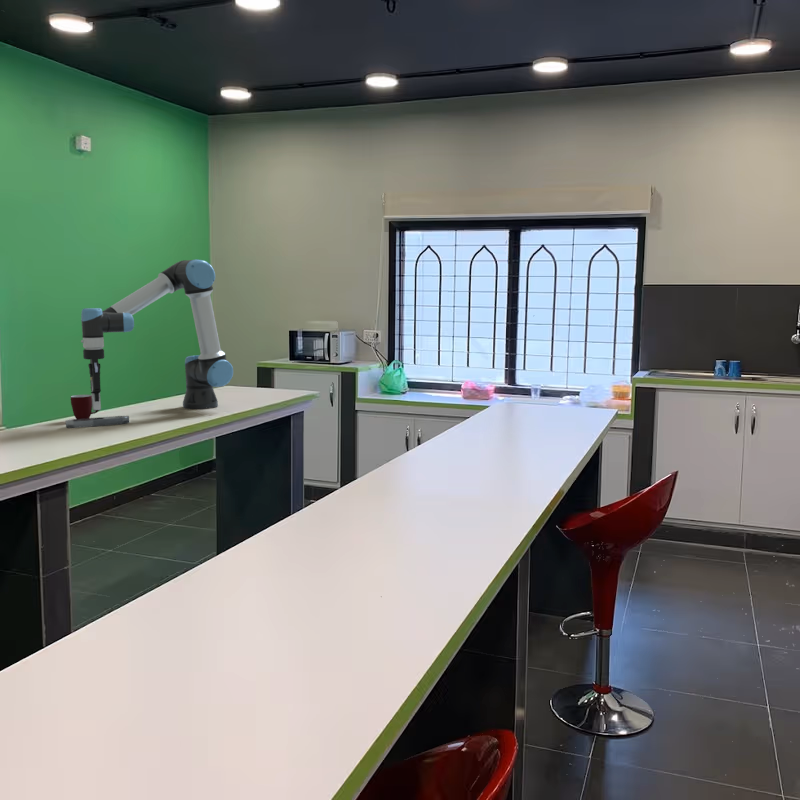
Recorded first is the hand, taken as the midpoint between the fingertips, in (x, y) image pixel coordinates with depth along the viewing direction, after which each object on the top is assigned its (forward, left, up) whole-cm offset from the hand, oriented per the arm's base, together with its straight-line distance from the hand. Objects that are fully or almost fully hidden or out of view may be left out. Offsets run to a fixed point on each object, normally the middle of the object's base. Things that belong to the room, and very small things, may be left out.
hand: (96, 408), depth 306 cm
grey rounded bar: (0, 0, -6) cm, 6 cm away
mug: (+3, -14, -7) cm, 15 cm away
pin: (0, 0, 0) cm, 0 cm away
